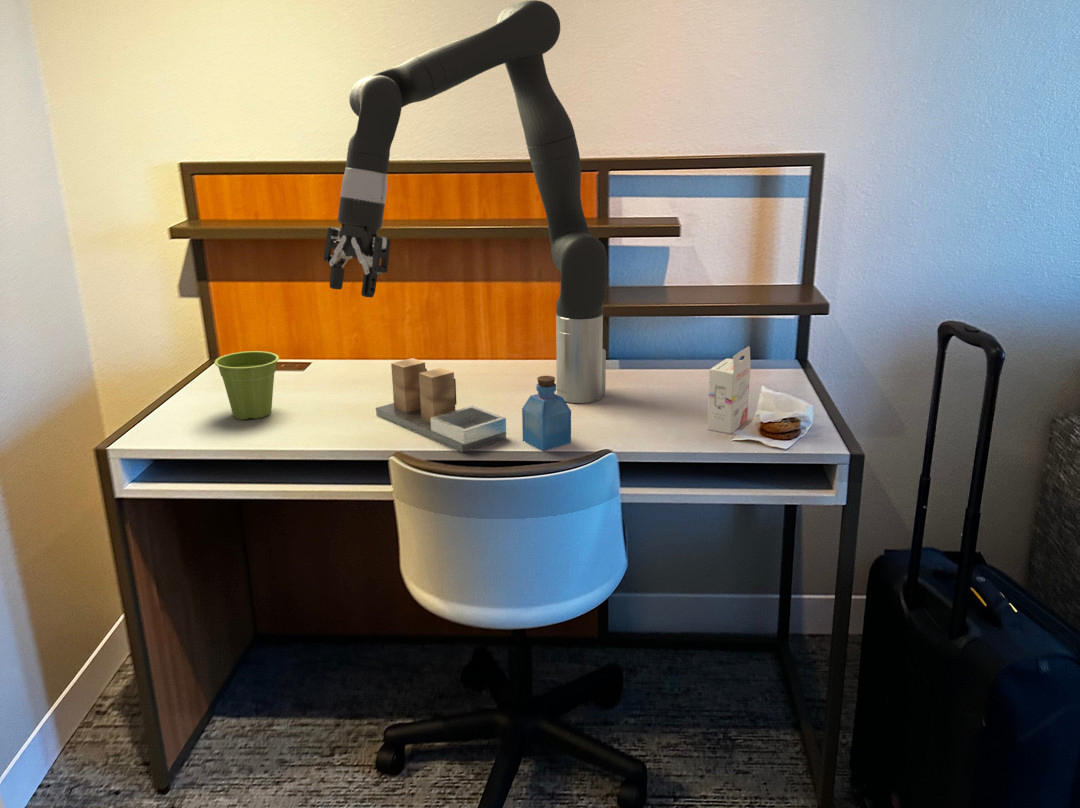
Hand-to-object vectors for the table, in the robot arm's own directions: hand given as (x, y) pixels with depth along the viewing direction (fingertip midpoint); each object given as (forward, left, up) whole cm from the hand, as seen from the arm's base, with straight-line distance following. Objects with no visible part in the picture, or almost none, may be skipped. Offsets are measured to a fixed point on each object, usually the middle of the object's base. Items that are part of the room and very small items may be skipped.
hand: (351, 292), depth 164 cm
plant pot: (+8, -26, -27) cm, 38 cm away
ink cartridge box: (-53, +42, -27) cm, 73 cm away
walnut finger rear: (-14, -4, -25) cm, 29 cm away
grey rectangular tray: (-14, +5, -27) cm, 30 cm away
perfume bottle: (-23, +25, -27) cm, 43 cm away
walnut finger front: (-14, +5, -25) cm, 29 cm away
